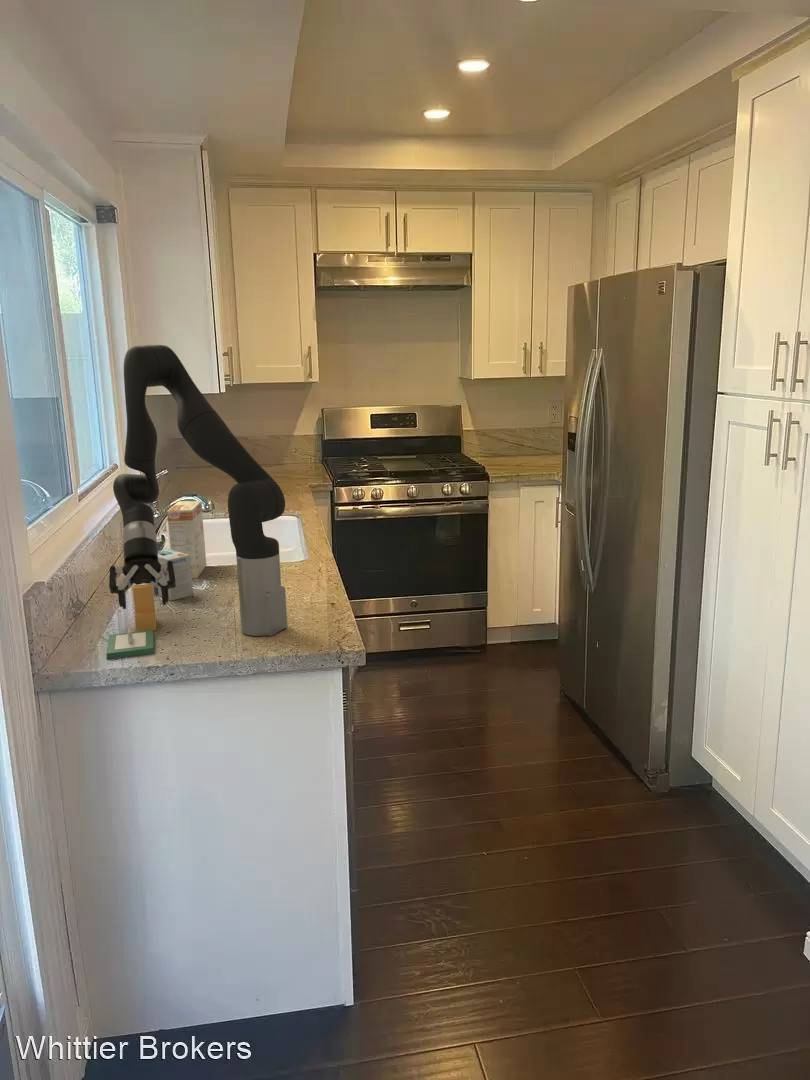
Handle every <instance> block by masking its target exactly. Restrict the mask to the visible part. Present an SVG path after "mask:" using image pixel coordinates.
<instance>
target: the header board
mask: <svg viewBox="0 0 810 1080" xmlns="http://www.w3.org/2000/svg"><path fill="white" fill-rule="evenodd" d="M154 635H155V634H154V631H153V630H145V631H133V627H132V626H127V631H126V632H119V633H111V634H109V635H108V640H107V647H106V659H107V660H112V659H118V658H119V659H120V658H126V657H127V658H128V657H129V658H130V657H137V656H142V655H152V654H155V651H154V649H155V648H154V645H155V643H154ZM111 658H112V659H111Z"/></svg>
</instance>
